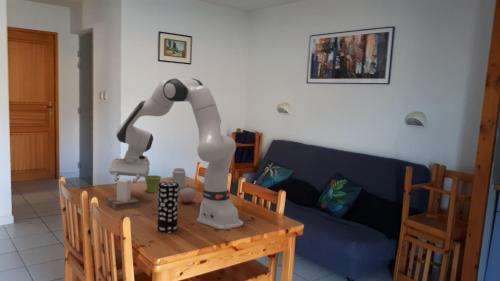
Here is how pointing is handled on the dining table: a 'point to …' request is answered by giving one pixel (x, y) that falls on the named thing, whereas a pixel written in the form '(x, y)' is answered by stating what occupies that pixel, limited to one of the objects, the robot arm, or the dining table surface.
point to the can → (179, 176)
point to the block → (123, 189)
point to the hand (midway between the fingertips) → (125, 181)
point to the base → (123, 203)
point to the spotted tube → (167, 207)
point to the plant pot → (152, 183)
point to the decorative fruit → (187, 193)
